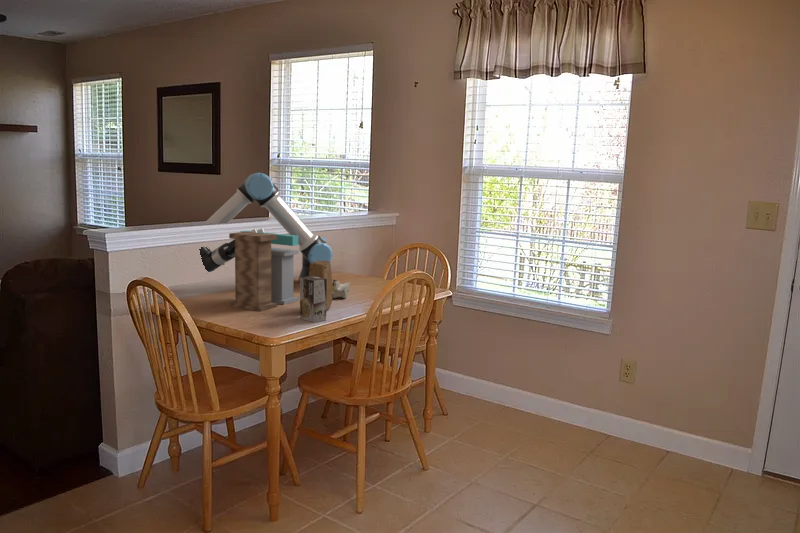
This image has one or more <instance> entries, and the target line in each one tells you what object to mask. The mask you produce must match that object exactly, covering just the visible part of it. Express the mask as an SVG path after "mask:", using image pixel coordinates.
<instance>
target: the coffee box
mask: <svg viewBox="0 0 800 533" xmlns="http://www.w3.org/2000/svg"><path fill="white" fill-rule="evenodd" d="M326 298H327V279H325V278H321V277H316V276H307V277H301V278H300V283H299V318H300V319H302V320H305V321H308V322H311V323H319V322H323V321H324V322H325V321H327V311H326Z"/></svg>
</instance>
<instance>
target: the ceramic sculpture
mask: <svg viewBox="0 0 800 533" xmlns="http://www.w3.org/2000/svg"><path fill="white" fill-rule="evenodd" d="M332 283H333V289H332V300H334V299H337V298H343V299H346V298H347V296H348V295H349V293H350V290H351V289H350V288H351V287H350V286H351V282H350V281H348V282H345V283H341V282H340V281H339V280H336V279H332Z"/></svg>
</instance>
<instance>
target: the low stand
mask: <svg viewBox="0 0 800 533" xmlns="http://www.w3.org/2000/svg"><path fill="white" fill-rule="evenodd" d="M299 253H300V250H299V249H290V248H289V249H288V248H281V247H280V248H279V247H271V302H272V303H277V305H288V304H291V303H294V302H298V301H299V297H298V296H294V255H299Z"/></svg>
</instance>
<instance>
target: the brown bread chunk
mask: <svg viewBox="0 0 800 533" xmlns="http://www.w3.org/2000/svg"><path fill="white" fill-rule="evenodd" d="M309 276H316V277H321V278H325V279H327V298H326V312H327V311H329V309H330V308H331V305H332V302H333V299H332V289H333V273H332V265H331V262H329V261H320V260H318V261H314V262H312V263H311V264H310V272H309Z"/></svg>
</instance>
